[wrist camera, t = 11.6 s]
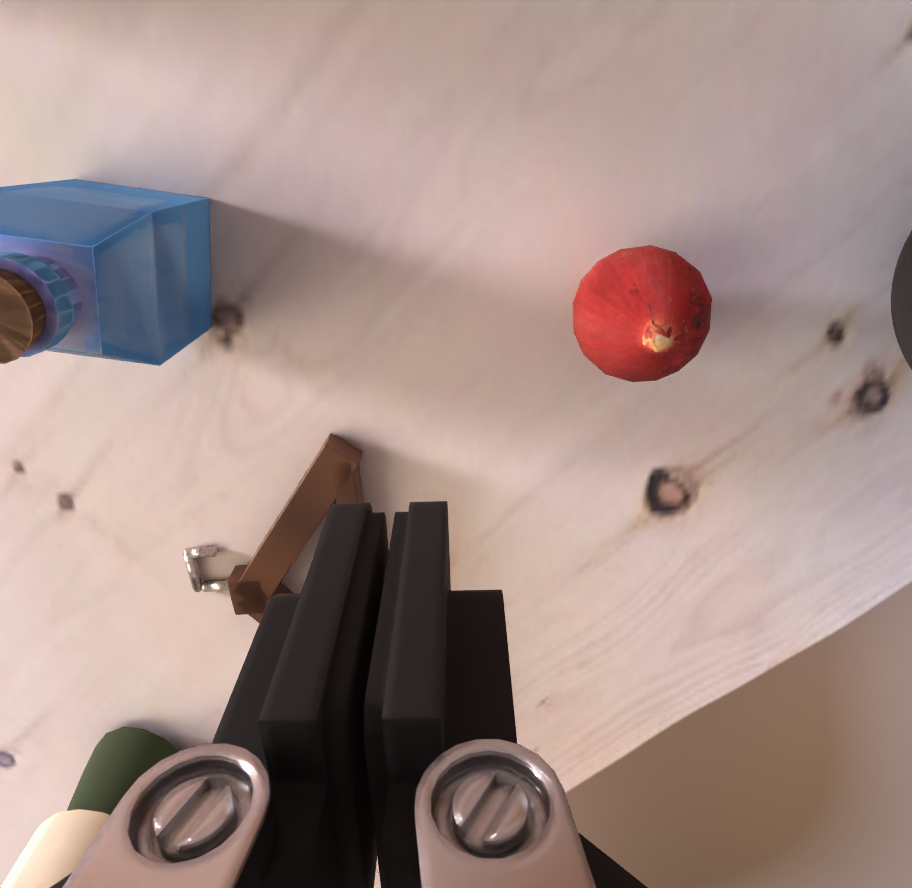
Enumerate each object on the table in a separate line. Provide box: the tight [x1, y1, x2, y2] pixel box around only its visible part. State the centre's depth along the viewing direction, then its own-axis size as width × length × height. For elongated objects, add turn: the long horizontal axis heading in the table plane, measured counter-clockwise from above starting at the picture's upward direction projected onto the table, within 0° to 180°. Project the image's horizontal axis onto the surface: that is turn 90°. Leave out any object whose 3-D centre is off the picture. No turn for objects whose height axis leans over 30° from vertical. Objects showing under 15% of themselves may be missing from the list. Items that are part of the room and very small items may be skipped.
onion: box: [573, 245, 712, 382], centre depth 29 cm, size 6×6×8 cm
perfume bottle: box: [0, 179, 211, 366], centre depth 27 cm, size 6×6×12 cm
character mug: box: [0, 727, 179, 888], centre depth 41 cm, size 11×7×13 cm, turn 115°
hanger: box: [183, 433, 364, 623], centre depth 40 cm, size 11×18×2 cm, turn 4°
